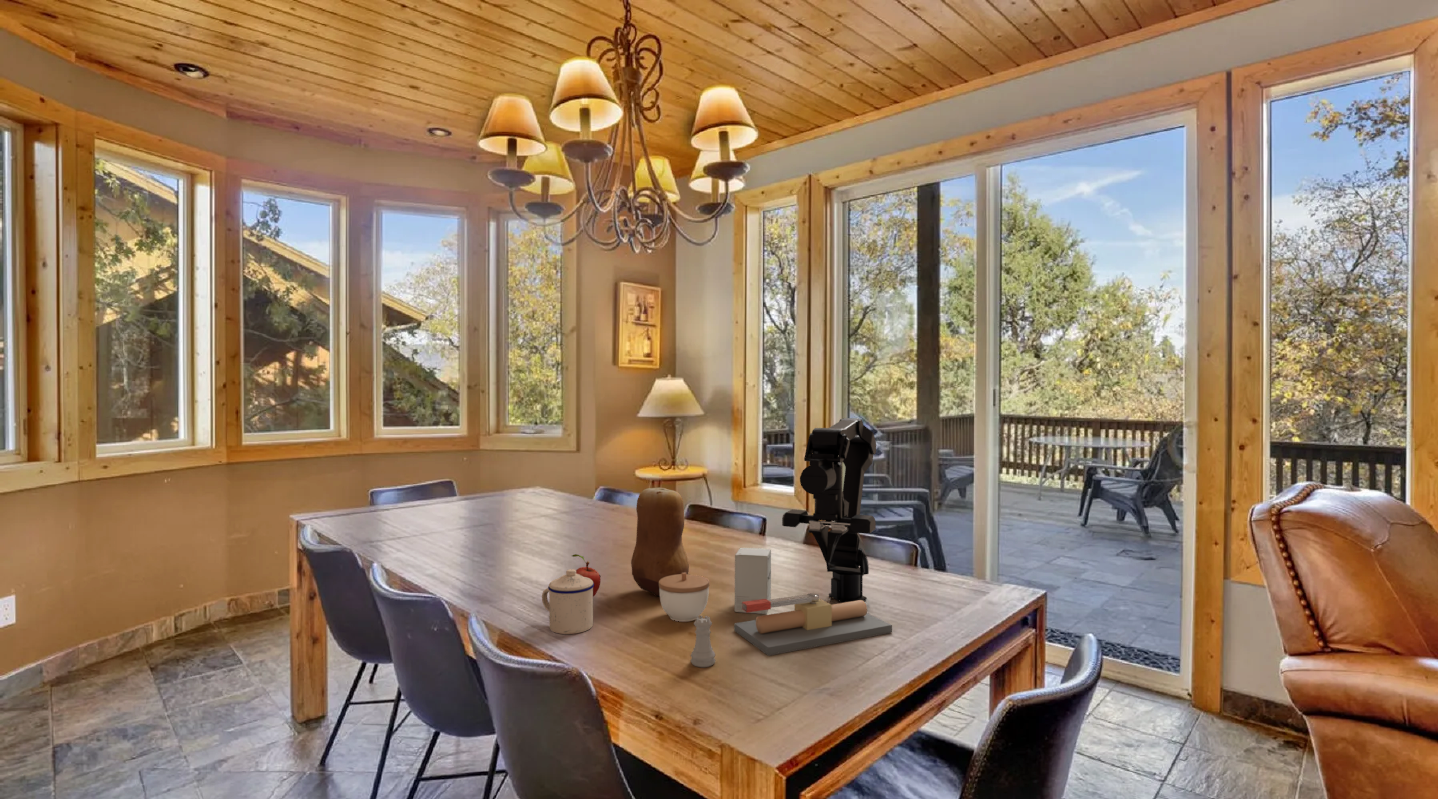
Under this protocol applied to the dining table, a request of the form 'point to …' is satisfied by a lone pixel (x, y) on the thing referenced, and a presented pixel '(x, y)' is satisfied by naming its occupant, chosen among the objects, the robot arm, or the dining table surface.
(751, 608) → the valve lever
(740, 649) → the dining table surface
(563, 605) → the teacup with lid
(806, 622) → the valve body
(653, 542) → the butternut squash
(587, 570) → the apple
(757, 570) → the supplement box
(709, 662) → the rook chess piece
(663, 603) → the lidded jar
